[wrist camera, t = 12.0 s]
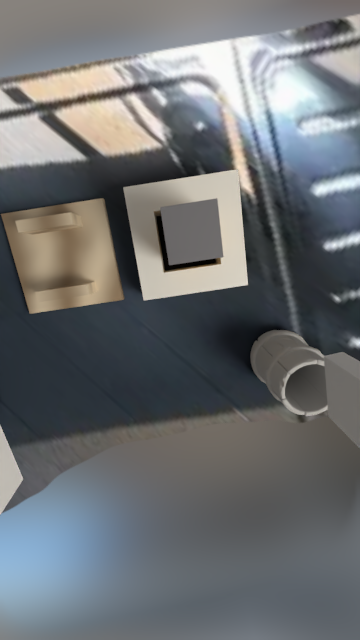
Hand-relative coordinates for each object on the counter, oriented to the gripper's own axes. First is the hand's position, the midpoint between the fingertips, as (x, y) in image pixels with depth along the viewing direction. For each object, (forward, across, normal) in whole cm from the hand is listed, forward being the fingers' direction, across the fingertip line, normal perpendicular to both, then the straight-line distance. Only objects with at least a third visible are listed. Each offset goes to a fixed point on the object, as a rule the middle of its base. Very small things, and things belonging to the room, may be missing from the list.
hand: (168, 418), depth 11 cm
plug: (+25, +4, +8) cm, 26 cm away
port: (+25, +4, +7) cm, 26 cm away
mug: (+25, +15, -10) cm, 31 cm away
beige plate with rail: (+25, -11, +8) cm, 29 cm away
